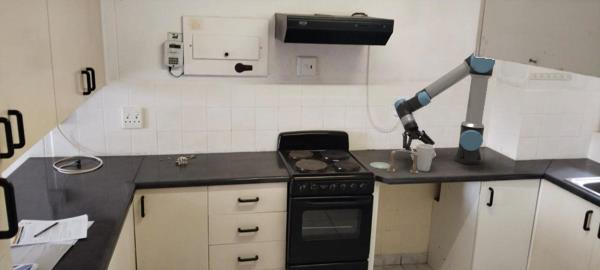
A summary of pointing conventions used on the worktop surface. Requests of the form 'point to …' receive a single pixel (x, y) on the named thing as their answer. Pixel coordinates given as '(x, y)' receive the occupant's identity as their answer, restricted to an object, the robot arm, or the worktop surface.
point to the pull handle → (413, 161)
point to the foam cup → (424, 156)
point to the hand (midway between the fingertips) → (424, 157)
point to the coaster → (380, 165)
